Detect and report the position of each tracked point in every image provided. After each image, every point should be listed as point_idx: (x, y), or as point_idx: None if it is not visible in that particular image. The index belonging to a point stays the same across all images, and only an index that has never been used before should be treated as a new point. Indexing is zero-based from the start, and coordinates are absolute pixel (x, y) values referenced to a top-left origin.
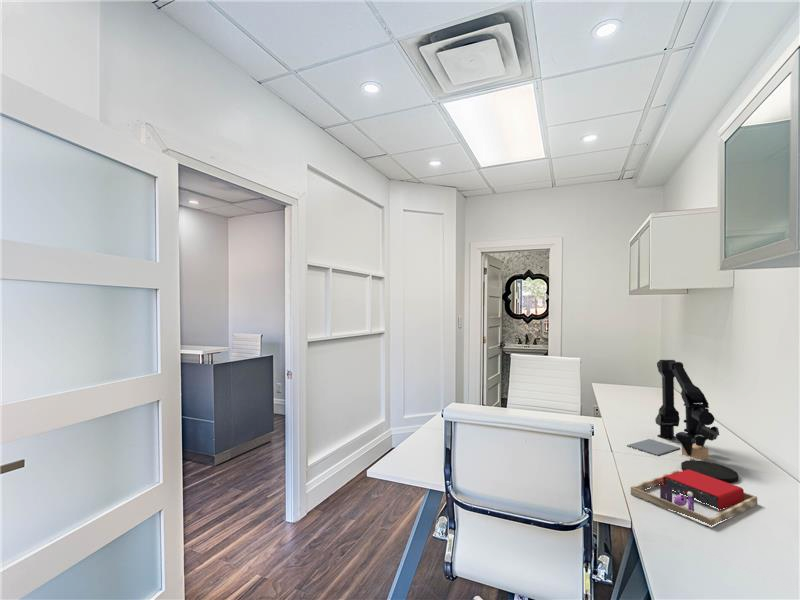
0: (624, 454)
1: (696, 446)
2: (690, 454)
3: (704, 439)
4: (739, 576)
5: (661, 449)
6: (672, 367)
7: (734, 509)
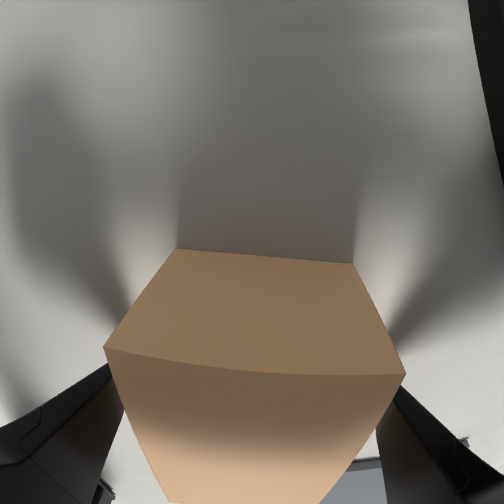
0: (499, 460)
1: (217, 466)
2: (403, 390)
3: (4, 480)
4: None
5: (343, 488)
6: None
7: None
